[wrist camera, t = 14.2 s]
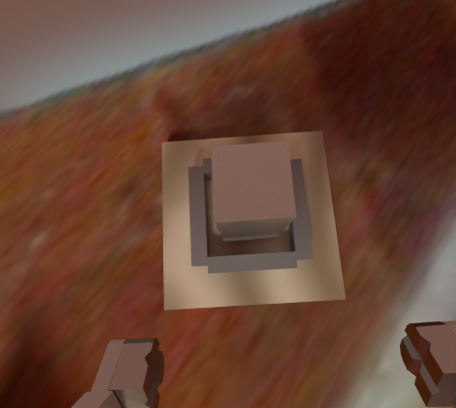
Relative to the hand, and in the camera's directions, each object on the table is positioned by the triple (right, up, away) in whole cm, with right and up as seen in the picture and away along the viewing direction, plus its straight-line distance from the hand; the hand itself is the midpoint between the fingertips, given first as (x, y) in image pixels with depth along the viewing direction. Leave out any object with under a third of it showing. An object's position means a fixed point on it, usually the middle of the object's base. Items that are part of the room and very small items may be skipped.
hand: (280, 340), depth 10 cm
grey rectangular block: (0, +4, +15) cm, 15 cm away
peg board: (0, +3, +16) cm, 17 cm away
